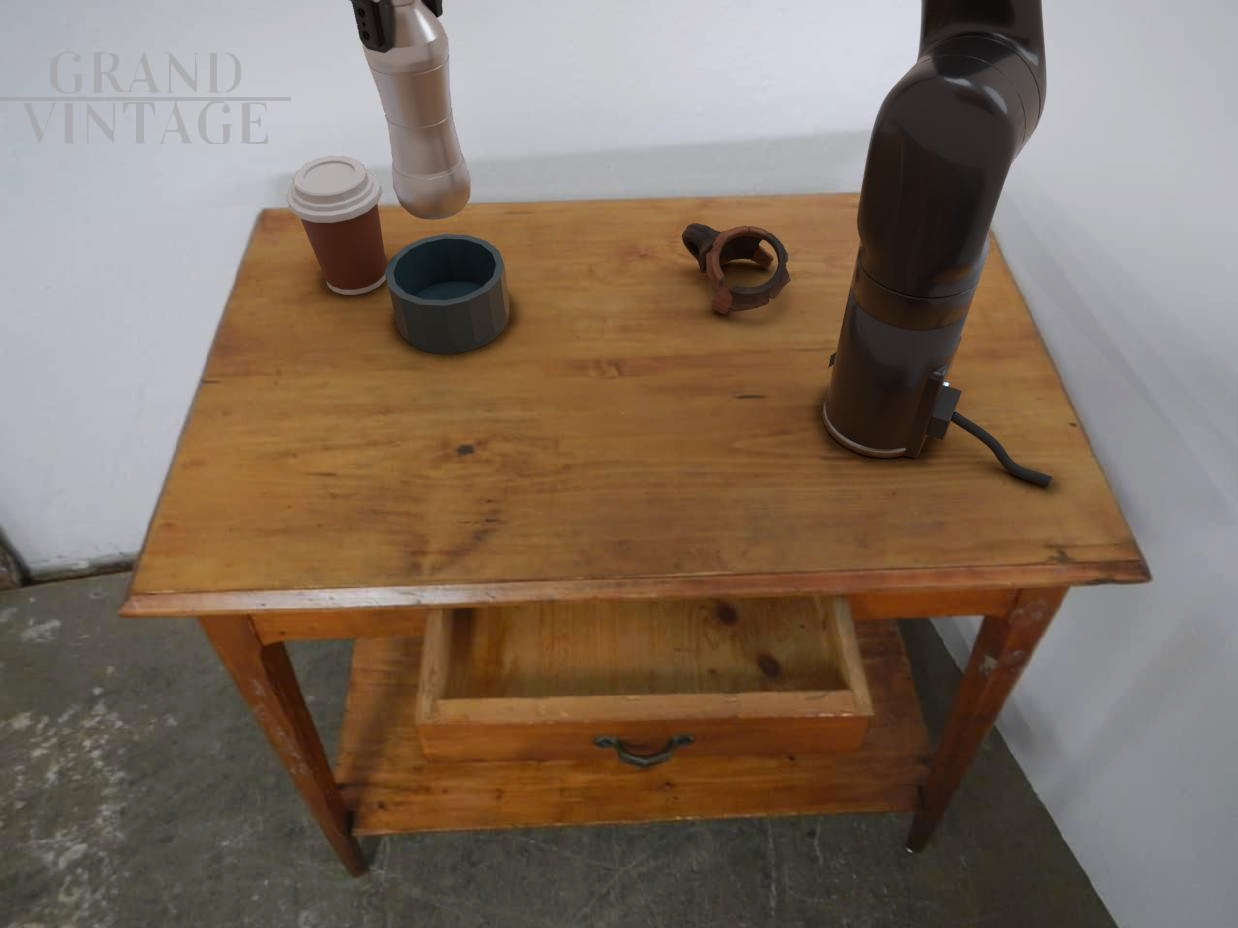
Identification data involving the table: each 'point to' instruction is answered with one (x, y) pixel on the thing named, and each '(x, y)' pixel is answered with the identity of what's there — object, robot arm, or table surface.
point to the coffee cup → (341, 221)
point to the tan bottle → (420, 113)
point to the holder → (449, 293)
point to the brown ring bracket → (731, 246)
